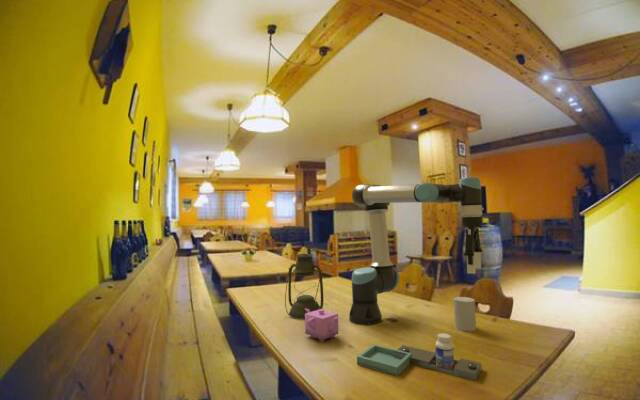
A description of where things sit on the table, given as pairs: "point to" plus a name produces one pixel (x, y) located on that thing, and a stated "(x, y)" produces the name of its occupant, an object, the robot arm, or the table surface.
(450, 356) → the pill bottle
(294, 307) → the lantern
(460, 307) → the cup
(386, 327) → the table surface
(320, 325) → the teapot
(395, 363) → the tray
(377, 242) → the robot arm
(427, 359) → the mounting rail
